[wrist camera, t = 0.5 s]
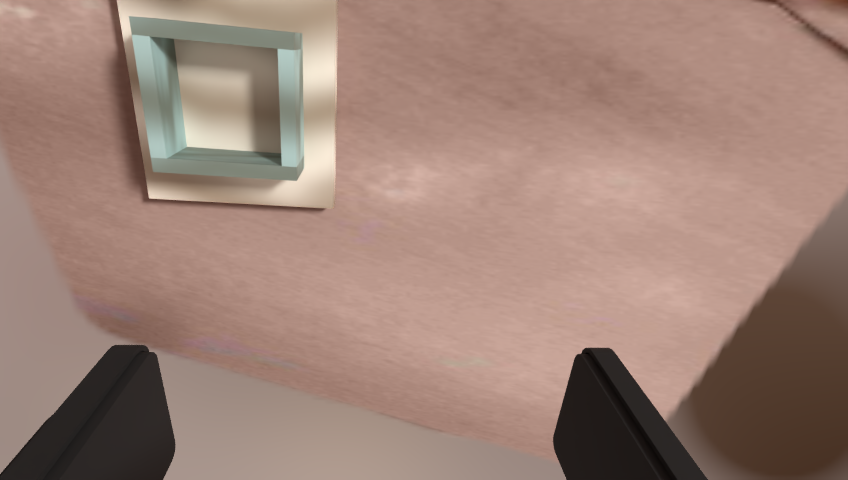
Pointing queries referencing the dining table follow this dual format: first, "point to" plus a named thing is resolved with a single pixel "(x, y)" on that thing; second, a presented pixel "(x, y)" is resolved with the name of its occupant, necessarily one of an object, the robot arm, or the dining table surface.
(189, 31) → the shaker caddy
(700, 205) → the dining table surface
